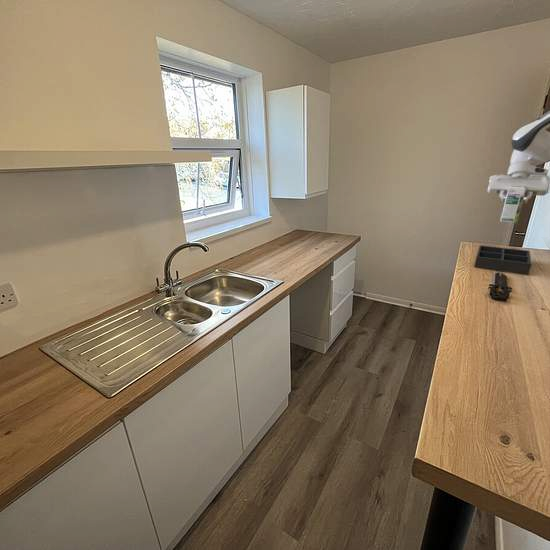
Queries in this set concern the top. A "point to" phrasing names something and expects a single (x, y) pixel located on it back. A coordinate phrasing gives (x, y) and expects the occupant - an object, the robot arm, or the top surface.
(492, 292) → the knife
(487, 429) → the top surface
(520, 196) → the syrup box
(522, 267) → the tray
